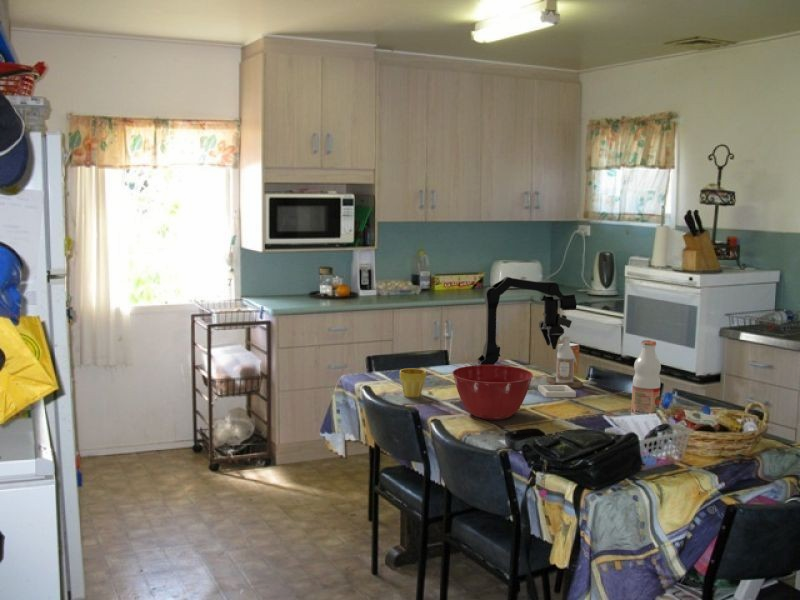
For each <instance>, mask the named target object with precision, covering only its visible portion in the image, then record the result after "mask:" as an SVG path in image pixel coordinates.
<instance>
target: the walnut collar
mask: <svg viewBox="0 0 800 600" xmlns="http://www.w3.org/2000/svg"><path fill="white" fill-rule="evenodd" d="M546 382H547V383H548V384H549V385H567V386H569V387H570V388H571V389H574V388H576V389H577V388H580V389H581V388H584V383H583V382H582V381H581V380H579V379H578V378H576V377H575V376H574V375H573V382H556V376H546Z"/></svg>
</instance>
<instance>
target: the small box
mask: <svg viewBox="0 0 800 600" xmlns="http://www.w3.org/2000/svg"><path fill="white" fill-rule="evenodd" d="M562 345H563V343H559V344H558V343H557V352H556V353H557V354H558V352H559V350H560V348H561V347H562ZM570 347H571V349H572V351H573V354H574V369H573V375H574V374H578V373H579V365H580V364H579V362H580V359H579V357H580V344H579V343H573V342H570ZM557 354H556V355H557Z"/></svg>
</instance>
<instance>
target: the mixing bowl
mask: <svg viewBox="0 0 800 600" xmlns="http://www.w3.org/2000/svg"><path fill="white" fill-rule="evenodd" d="M452 375H453V378H454V383H455V387H456V390H457V393H458V396H459V398H460V401H461V402H462V404H463V406H464V408H465V410H466V411H467V412H469V413H470V414H471V415H473V417H475V418H479V419H483V420H490V421H491V420H494V421H495V420H497V421H498V420H505V419H508V418H510V417H511V416H514V415H515V414H516V413H517V412H518V411H519V409H520V408H521V406H522V404H523V402H524V400H525V398H526V396H527V394H528V391H529V388H530V385H531V382H532V379H533V377H534V374H533V372H531V371H529V369H524V368H522V367H521V368H520V367H516V366H513V365H512V366H509V365H501V364H498V365H497V364H494V365H480V364H477V365H467V366H462V367H459V368H456V369H454V370H453V371H452Z"/></svg>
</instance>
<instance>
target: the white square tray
mask: <svg viewBox="0 0 800 600" xmlns="http://www.w3.org/2000/svg"><path fill="white" fill-rule="evenodd" d="M537 390H538V392H539V393H541V395H543V396H544V397H545V398H577V392H576V390H574V388H570V387H569V386H567V385H550V384H549V385H546V384H541V385H539V384H538V385H537Z"/></svg>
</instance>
